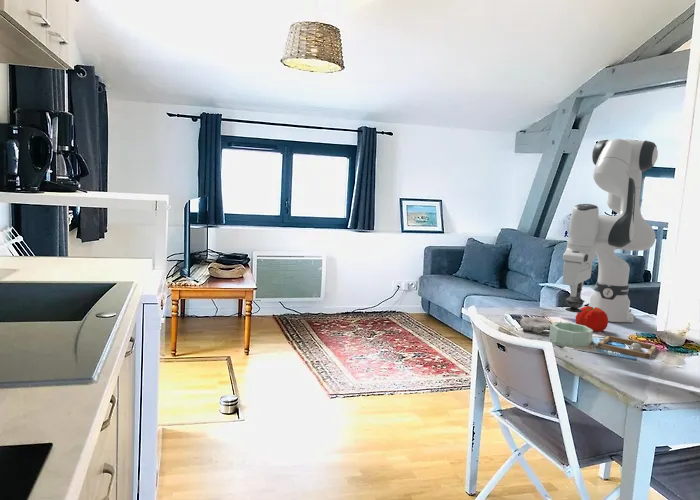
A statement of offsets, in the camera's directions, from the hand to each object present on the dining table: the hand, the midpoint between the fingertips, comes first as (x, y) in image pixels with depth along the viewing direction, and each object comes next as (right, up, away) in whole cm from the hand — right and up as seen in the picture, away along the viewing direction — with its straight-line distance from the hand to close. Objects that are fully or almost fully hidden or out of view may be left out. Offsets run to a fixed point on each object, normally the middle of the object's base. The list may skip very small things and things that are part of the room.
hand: (575, 295), depth 186 cm
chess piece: (0, -5, +1) cm, 5 cm away
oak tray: (+15, -18, -3) cm, 24 cm away
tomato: (+13, -15, +19) cm, 28 cm away
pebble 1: (+19, -17, -5) cm, 26 cm away
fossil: (-8, -14, +16) cm, 23 cm away
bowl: (-1, -16, +2) cm, 17 cm away
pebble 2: (+17, -18, -9) cm, 26 cm away
